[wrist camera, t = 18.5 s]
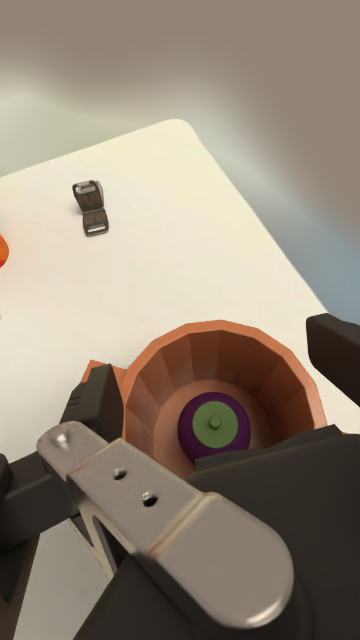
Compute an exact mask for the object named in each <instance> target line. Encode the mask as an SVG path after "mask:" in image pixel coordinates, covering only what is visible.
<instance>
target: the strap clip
mask: <svg viewBox="0 0 360 640" xmlns="http://www.w3.org/2000/svg"><path fill="white" fill-rule="evenodd" d="M76 187H78V193H77V191H76ZM92 187H93V188H92ZM88 188H89V189H88ZM72 189H73V193H74V196H75V198H76V200H77V202H78V204H79V206H80V208H81V210H82V211H85V212H84V214H83V226H84V230H85V233H86V235H88V236H91V235H95V234H100V233H104V232H107V231H108V230H109V223H108V219H107V215H106V212H105V209H103V208H102V207H103V206H104V205H103V203H104V197H103V189H102V186H101V184H100V182H99V181H94V180H90V181H86V182H81V183H77V184H74V185H73V187H72ZM84 189H85V190H84ZM102 225H105V226H106V228H105V229H102V230H97V231H93V232H88V229H89V228H94V227H98V226H102Z"/></svg>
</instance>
